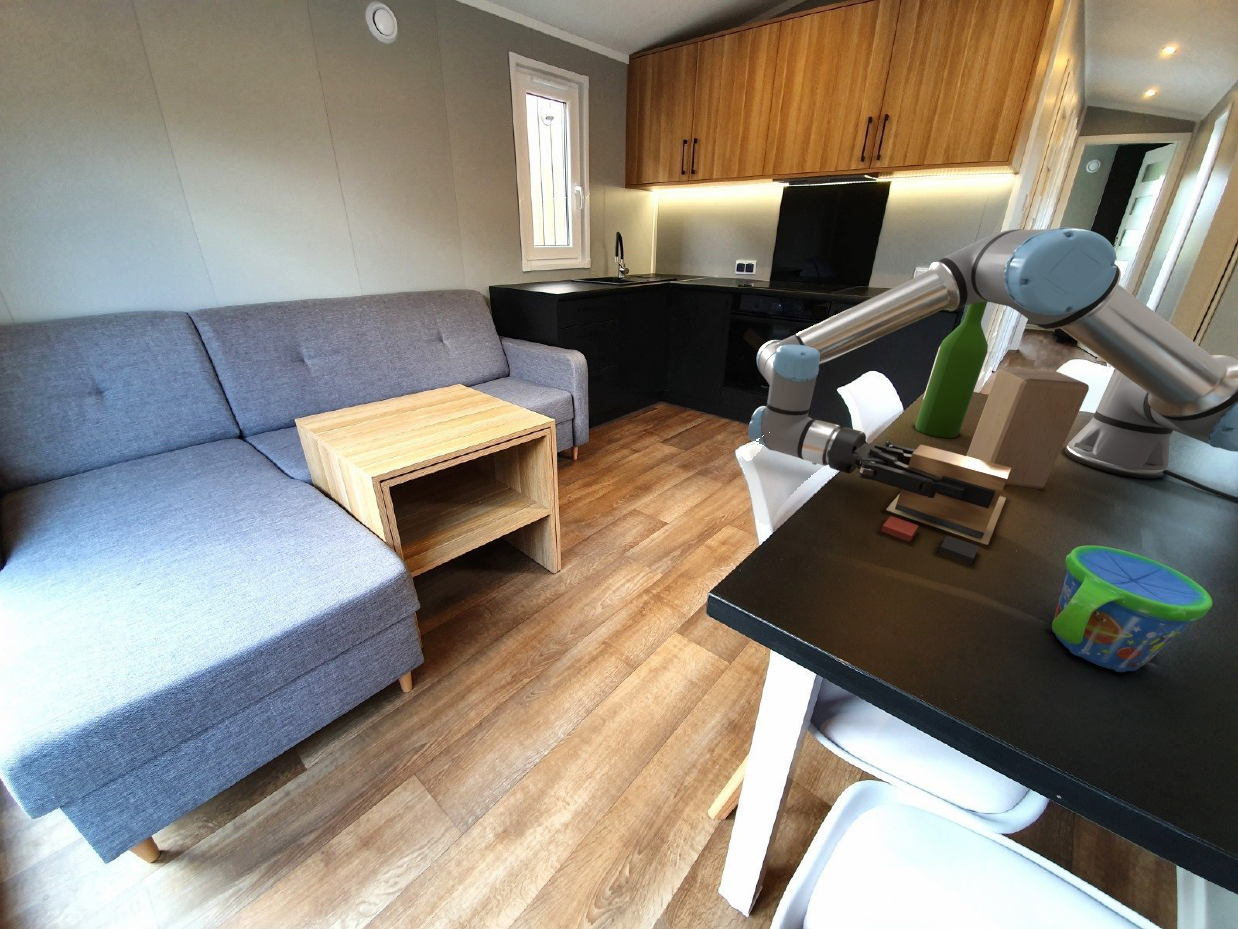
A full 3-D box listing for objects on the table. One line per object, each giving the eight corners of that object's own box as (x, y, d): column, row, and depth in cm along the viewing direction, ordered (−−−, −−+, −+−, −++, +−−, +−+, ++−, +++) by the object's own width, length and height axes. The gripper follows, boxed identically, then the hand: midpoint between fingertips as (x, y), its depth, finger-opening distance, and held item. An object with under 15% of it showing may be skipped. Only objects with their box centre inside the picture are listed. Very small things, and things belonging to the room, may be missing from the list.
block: (1045, 492, 88) (1094, 384, 80) (984, 485, 90) (1026, 379, 82) (1016, 468, 97) (1058, 369, 89) (961, 463, 99) (997, 365, 90)
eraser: (987, 525, 76) (1011, 467, 71) (981, 538, 72) (1007, 478, 68) (903, 498, 83) (920, 444, 78) (894, 509, 79) (912, 453, 75)
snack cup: (1095, 606, 60) (1135, 537, 56) (1203, 674, 51) (1261, 598, 47) (993, 623, 57) (1027, 551, 53) (1089, 700, 48) (1141, 620, 43)
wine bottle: (921, 421, 121) (965, 282, 107) (963, 432, 115) (1015, 286, 101) (908, 429, 116) (953, 283, 102) (951, 441, 110) (1004, 288, 96)
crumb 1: (916, 533, 74) (919, 525, 74) (909, 544, 72) (912, 536, 71) (888, 523, 77) (890, 515, 76) (880, 533, 74) (882, 525, 73)
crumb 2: (975, 555, 70) (979, 546, 69) (970, 567, 67) (974, 558, 66) (943, 543, 72) (946, 535, 71) (937, 555, 69) (940, 546, 69)
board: (1005, 500, 85) (1006, 497, 85) (986, 547, 71) (987, 544, 71) (916, 474, 93) (917, 472, 93) (884, 512, 80) (885, 509, 80)
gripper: (848, 452, 93) (994, 494, 79) (810, 482, 81) (975, 539, 67) (857, 414, 90) (1012, 452, 76) (819, 440, 78) (994, 490, 64)
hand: (994, 492), depth 72 cm, fingers closed on eraser, 5 cm apart
